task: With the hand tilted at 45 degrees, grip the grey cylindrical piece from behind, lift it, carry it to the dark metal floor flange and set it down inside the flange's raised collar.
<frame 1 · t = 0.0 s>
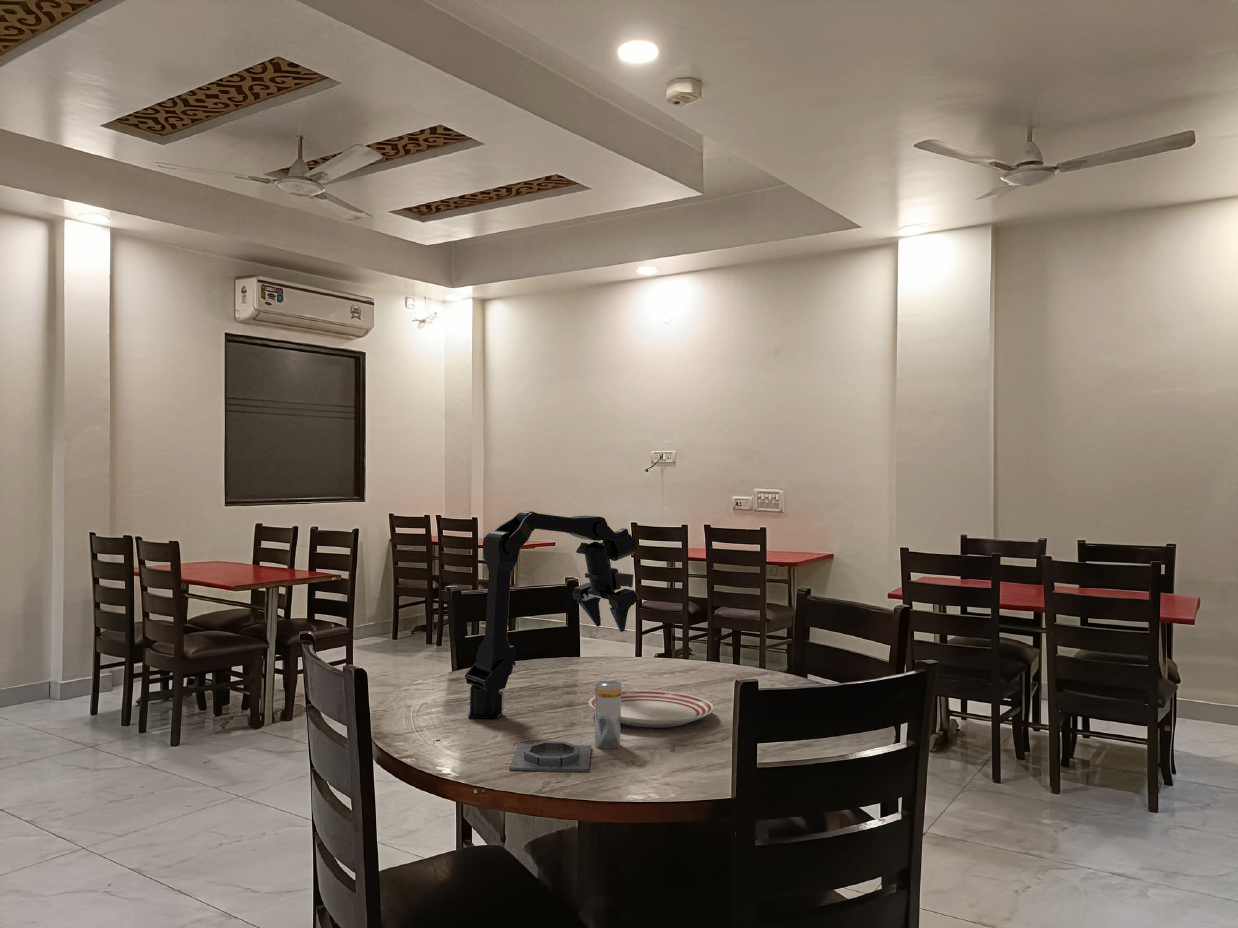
hand: (610, 628, 218), 15 cm above the table, tool pointing down, fingers open, 9 cm apart
dinner plate: (650, 718, 198), on the table
grey cylindrical piece: (607, 745, 176), on the table
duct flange: (552, 758, 167), on the table
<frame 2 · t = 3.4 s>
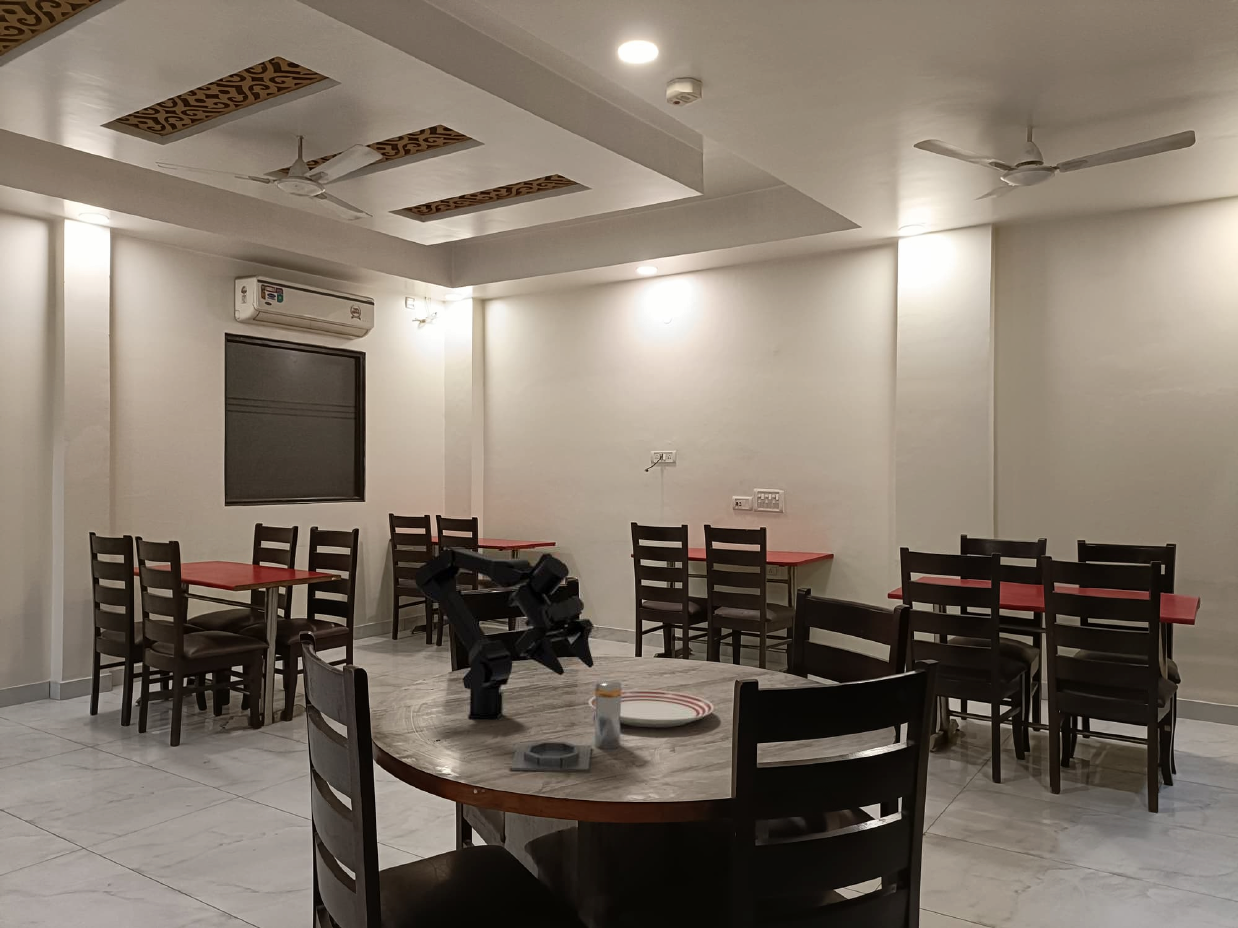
hand: (577, 669, 181), 13 cm above the table, tool tilted 45°, fingers open, 9 cm apart
nothing on the table moved.
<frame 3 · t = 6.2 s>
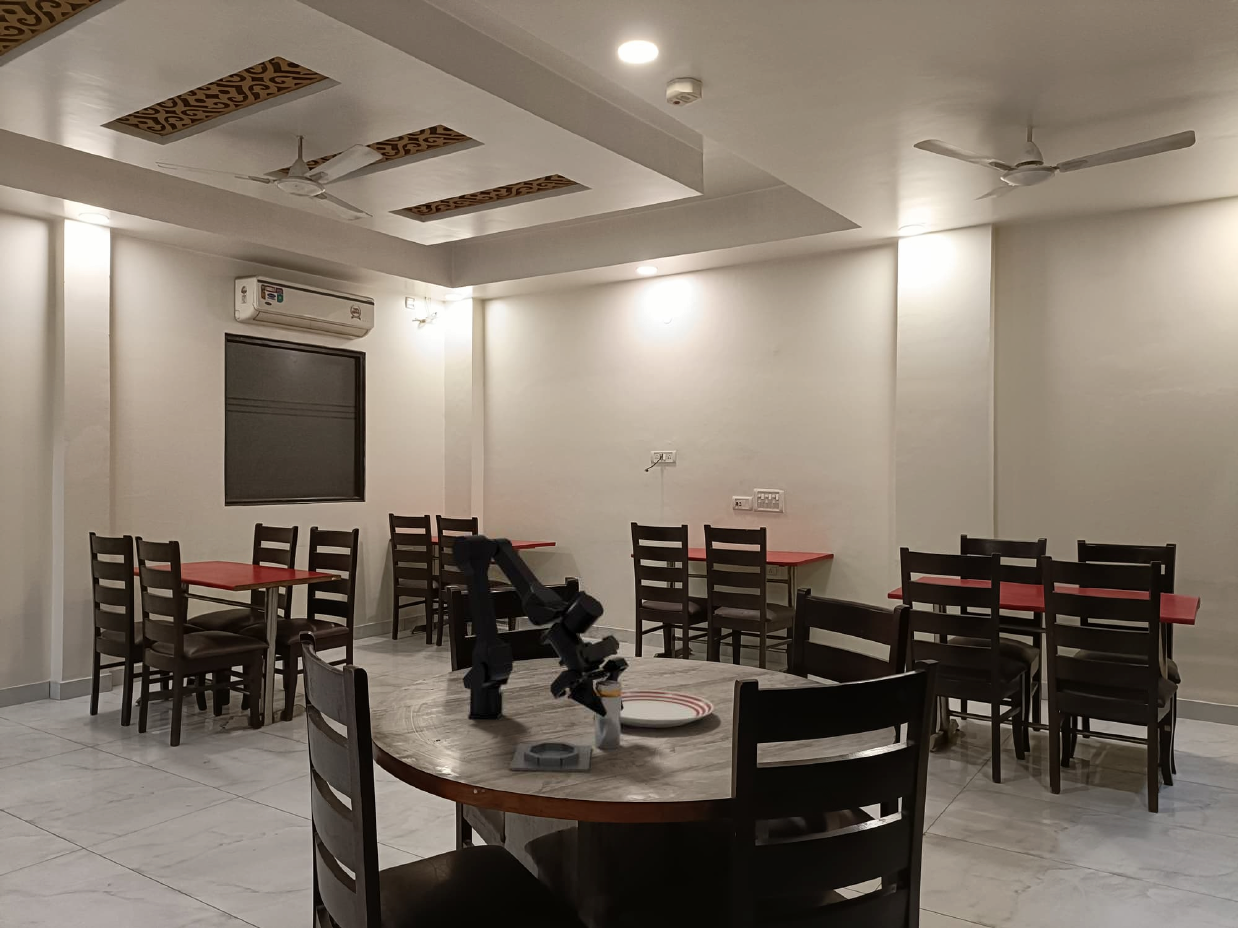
hand: (613, 712, 175), 7 cm above the table, tool tilted 45°, fingers closed on grey cylindrical piece, 5 cm apart
grey cylindrical piece: (607, 745, 176), on the table, touching gripper
everything else where it was.
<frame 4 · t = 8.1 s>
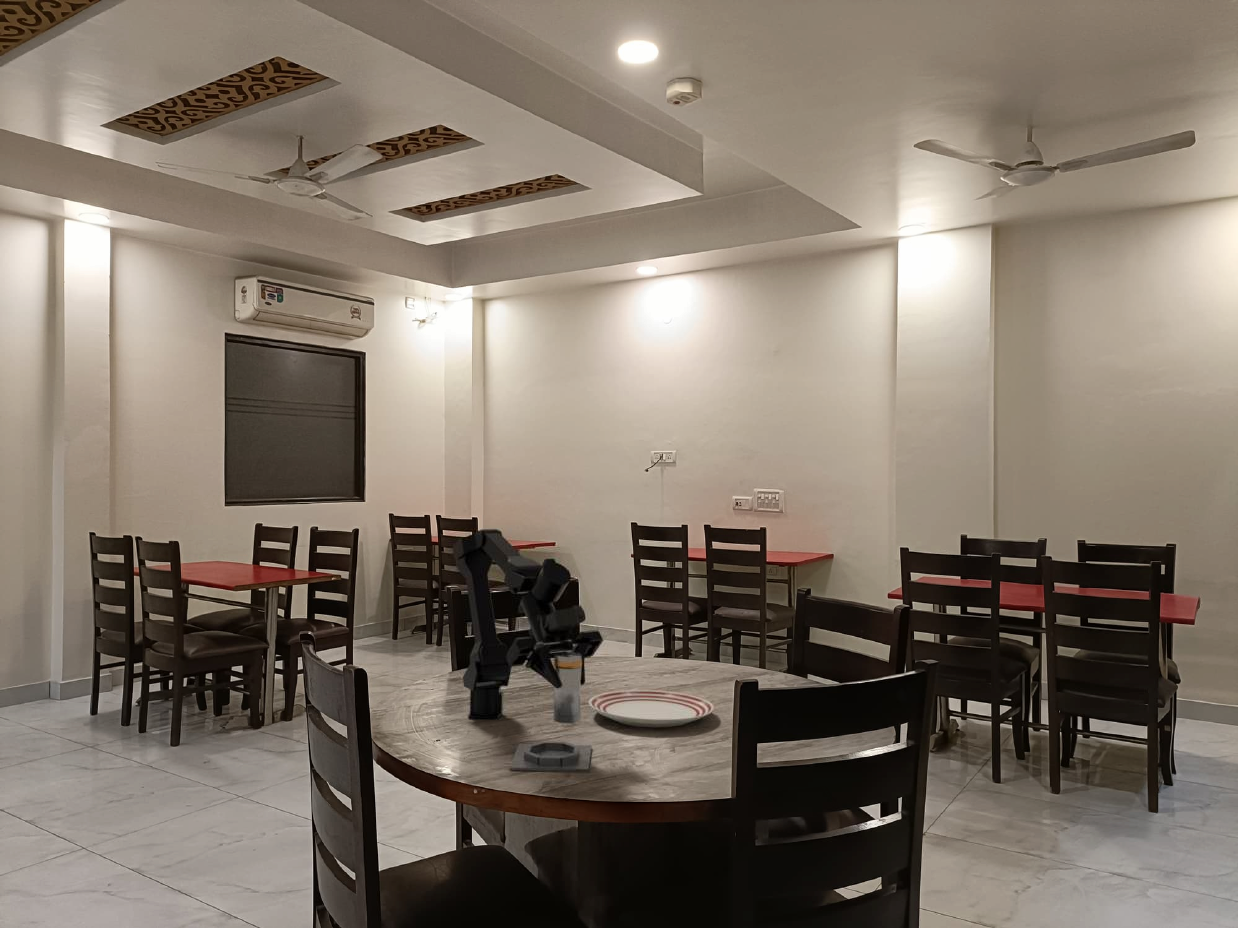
hand: (571, 685, 168), 13 cm above the table, tool tilted 45°, fingers closed on grey cylindrical piece, 5 cm apart
grey cylindrical piece: (566, 719, 169), point 7 cm above the table, touching gripper
everything else where it was.
when the fingers open (8 cm above the table, at t = 10.1 s): grey cylindrical piece stays where it is, resting on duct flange.
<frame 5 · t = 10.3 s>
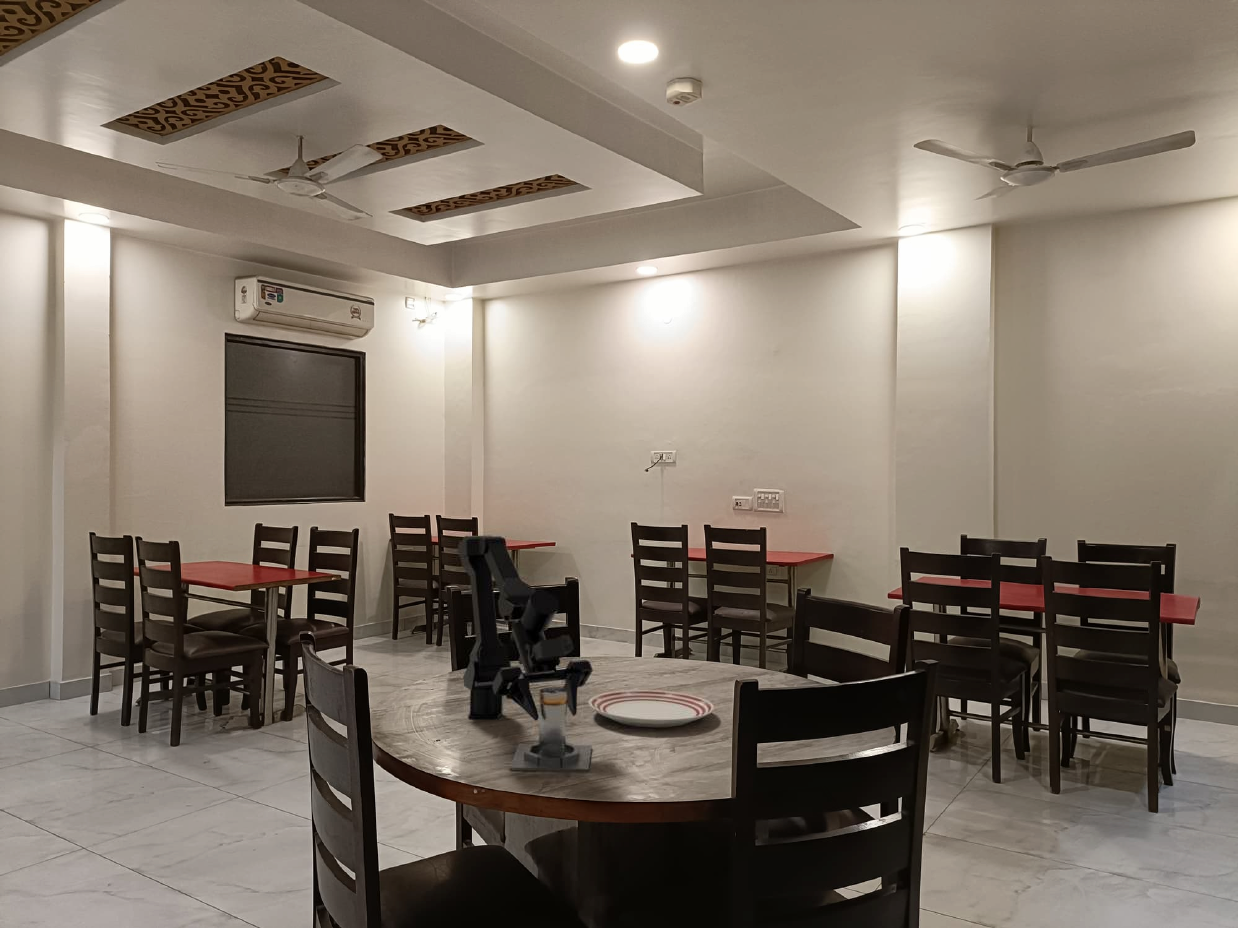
hand: (556, 716, 166), 8 cm above the table, tool tilted 45°, fingers open, 7 cm apart
grey cylindrical piece: (552, 755, 167), point 1 cm above the table, touching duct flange
everything else where it was.
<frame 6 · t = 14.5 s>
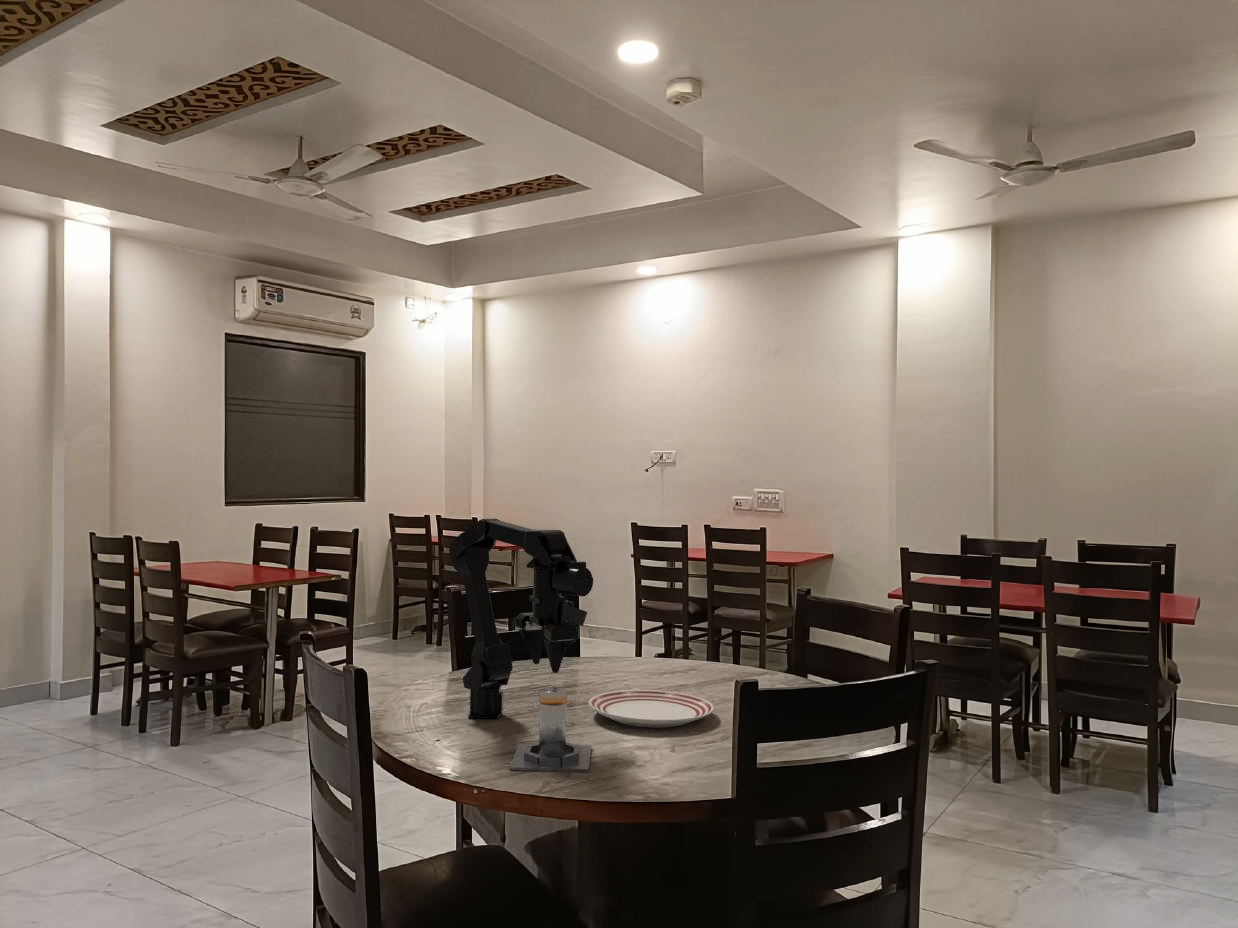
hand: (545, 668, 184), 13 cm above the table, tool pointing down, fingers open, 9 cm apart
nothing on the table moved.
at the end: grey cylindrical piece 0.0 cm off-centre on the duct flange, point 0.5 cm above the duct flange's base; grey cylindrical piece tilted 0°; the gripper is holding nothing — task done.
